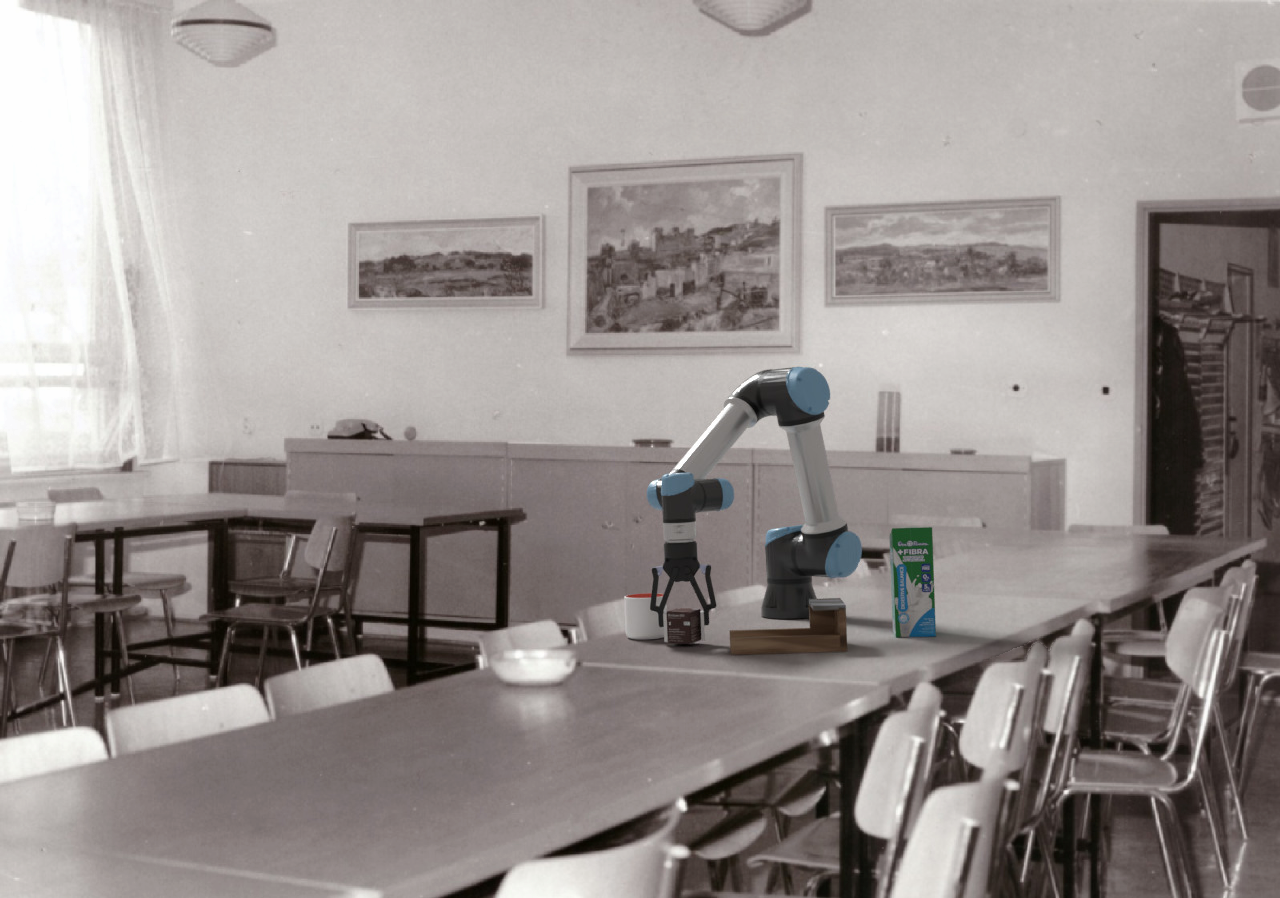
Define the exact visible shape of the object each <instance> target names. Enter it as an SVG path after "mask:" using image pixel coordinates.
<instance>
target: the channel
mask: <svg viewBox="0 0 1280 898" xmlns="http://www.w3.org/2000/svg"><path fill="white" fill-rule="evenodd" d="M846 605H847V604H846V603H845V602H844V601H843V600H842V599H841V597H836V598H835V597H832V598H831V597H829V598H817V599H809V617H808V619H809V620H808V621H809V627H796V628H795V627H794V628H793V627H792V628H763V629H761V628H760V629H731V630H729V648H730V654H731V655H733V656H734V655H766V654H767V655H768V654H771V655H772V654H799V653H800V654H802V653H807V654H808V653H833V652H834V653H837V652H841V653H842V652H848V637H847V636H848V634H847V632H848V631H847V606H846Z"/></svg>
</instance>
